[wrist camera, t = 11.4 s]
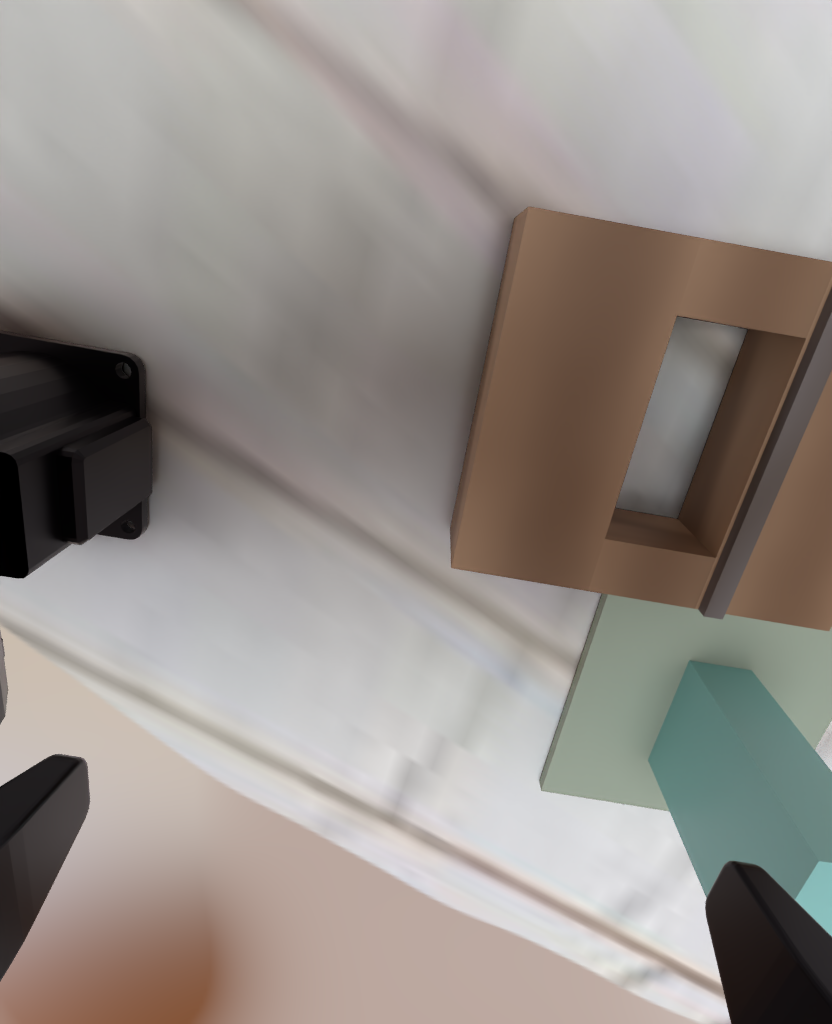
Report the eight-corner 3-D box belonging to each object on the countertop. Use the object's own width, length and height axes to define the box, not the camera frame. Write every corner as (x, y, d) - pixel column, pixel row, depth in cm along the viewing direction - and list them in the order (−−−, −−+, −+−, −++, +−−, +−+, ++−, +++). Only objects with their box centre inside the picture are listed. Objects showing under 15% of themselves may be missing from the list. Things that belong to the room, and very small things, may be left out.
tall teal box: (647, 759, 23) (743, 983, 16) (689, 660, 21) (819, 861, 14) (705, 769, 23) (826, 995, 16) (751, 670, 22) (913, 875, 14)
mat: (539, 781, 25) (541, 790, 24) (606, 580, 21) (610, 587, 20) (764, 817, 25) (770, 827, 24) (871, 625, 21) (880, 633, 21)
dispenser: (449, 528, 20) (451, 574, 17) (514, 218, 17) (530, 204, 13) (777, 584, 21) (836, 639, 18) (913, 291, 17) (1021, 294, 14)
